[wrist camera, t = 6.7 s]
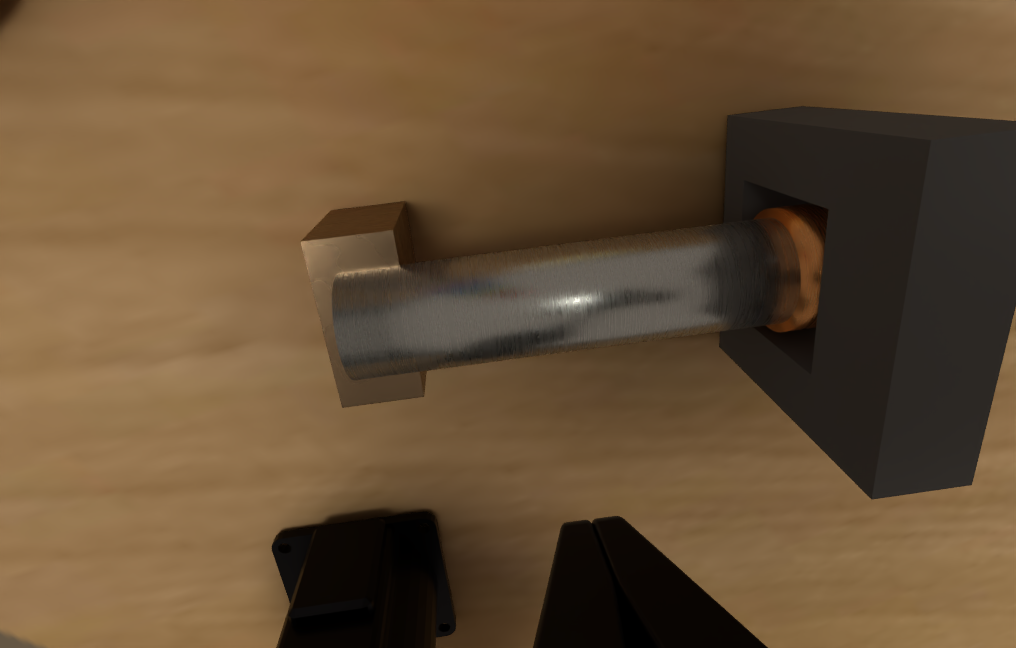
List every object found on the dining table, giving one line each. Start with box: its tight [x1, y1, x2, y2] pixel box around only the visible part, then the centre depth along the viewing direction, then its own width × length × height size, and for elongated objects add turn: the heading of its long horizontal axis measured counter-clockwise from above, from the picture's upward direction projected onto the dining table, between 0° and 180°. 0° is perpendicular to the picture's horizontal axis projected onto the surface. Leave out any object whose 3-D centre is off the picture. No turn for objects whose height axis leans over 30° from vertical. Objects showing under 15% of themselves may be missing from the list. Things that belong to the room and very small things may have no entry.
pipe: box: [301, 201, 829, 408], centre depth 18 cm, size 18×5×6 cm, turn 96°
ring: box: [719, 106, 1016, 499], centre depth 16 cm, size 2×8×8 cm, turn 6°
